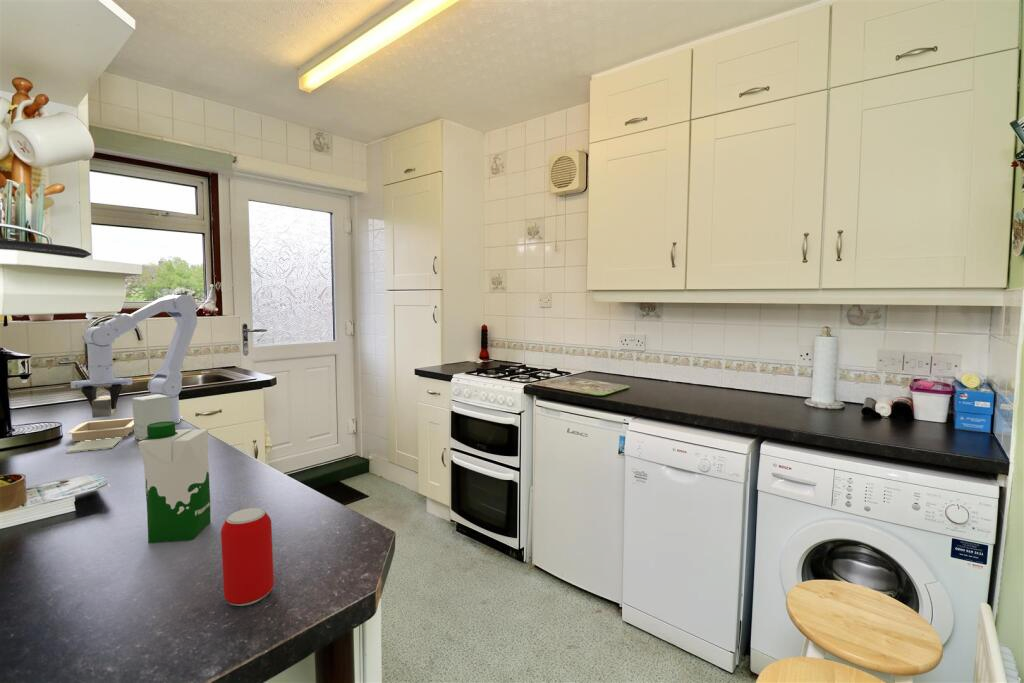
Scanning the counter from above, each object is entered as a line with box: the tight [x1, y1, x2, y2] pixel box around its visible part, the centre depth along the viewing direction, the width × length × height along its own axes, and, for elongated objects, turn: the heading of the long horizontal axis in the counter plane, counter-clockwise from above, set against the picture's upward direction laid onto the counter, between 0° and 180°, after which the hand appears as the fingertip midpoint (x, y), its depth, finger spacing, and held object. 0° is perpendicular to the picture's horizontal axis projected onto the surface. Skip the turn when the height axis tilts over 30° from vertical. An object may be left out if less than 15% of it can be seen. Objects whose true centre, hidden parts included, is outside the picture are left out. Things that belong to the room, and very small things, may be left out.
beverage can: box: [220, 507, 275, 607], centre depth 68 cm, size 6×6×12 cm
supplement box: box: [131, 394, 171, 441], centre depth 147 cm, size 7×7×13 cm
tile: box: [66, 437, 123, 454], centre depth 139 cm, size 10×10×1 cm
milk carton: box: [137, 421, 211, 544], centre depth 87 cm, size 9×9×20 cm
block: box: [91, 395, 118, 419], centre depth 151 cm, size 8×4×5 cm, turn 26°
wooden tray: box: [66, 417, 134, 443], centre depth 151 cm, size 15×15×3 cm
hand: (104, 409), depth 150 cm, fingers closed on block, 4 cm apart
